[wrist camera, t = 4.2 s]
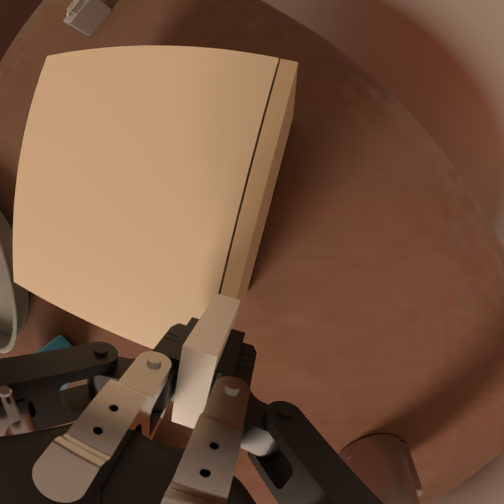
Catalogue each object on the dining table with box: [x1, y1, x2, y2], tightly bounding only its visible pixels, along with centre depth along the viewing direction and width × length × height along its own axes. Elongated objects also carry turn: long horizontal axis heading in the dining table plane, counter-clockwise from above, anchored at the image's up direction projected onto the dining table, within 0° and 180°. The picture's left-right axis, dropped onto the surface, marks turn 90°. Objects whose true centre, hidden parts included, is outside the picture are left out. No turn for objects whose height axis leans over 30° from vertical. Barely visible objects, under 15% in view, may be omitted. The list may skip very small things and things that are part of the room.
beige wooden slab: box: [171, 59, 298, 429], centre depth 16 cm, size 1×16×17 cm, turn 166°
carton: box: [13, 46, 279, 349], centre depth 19 cm, size 15×16×12 cm
